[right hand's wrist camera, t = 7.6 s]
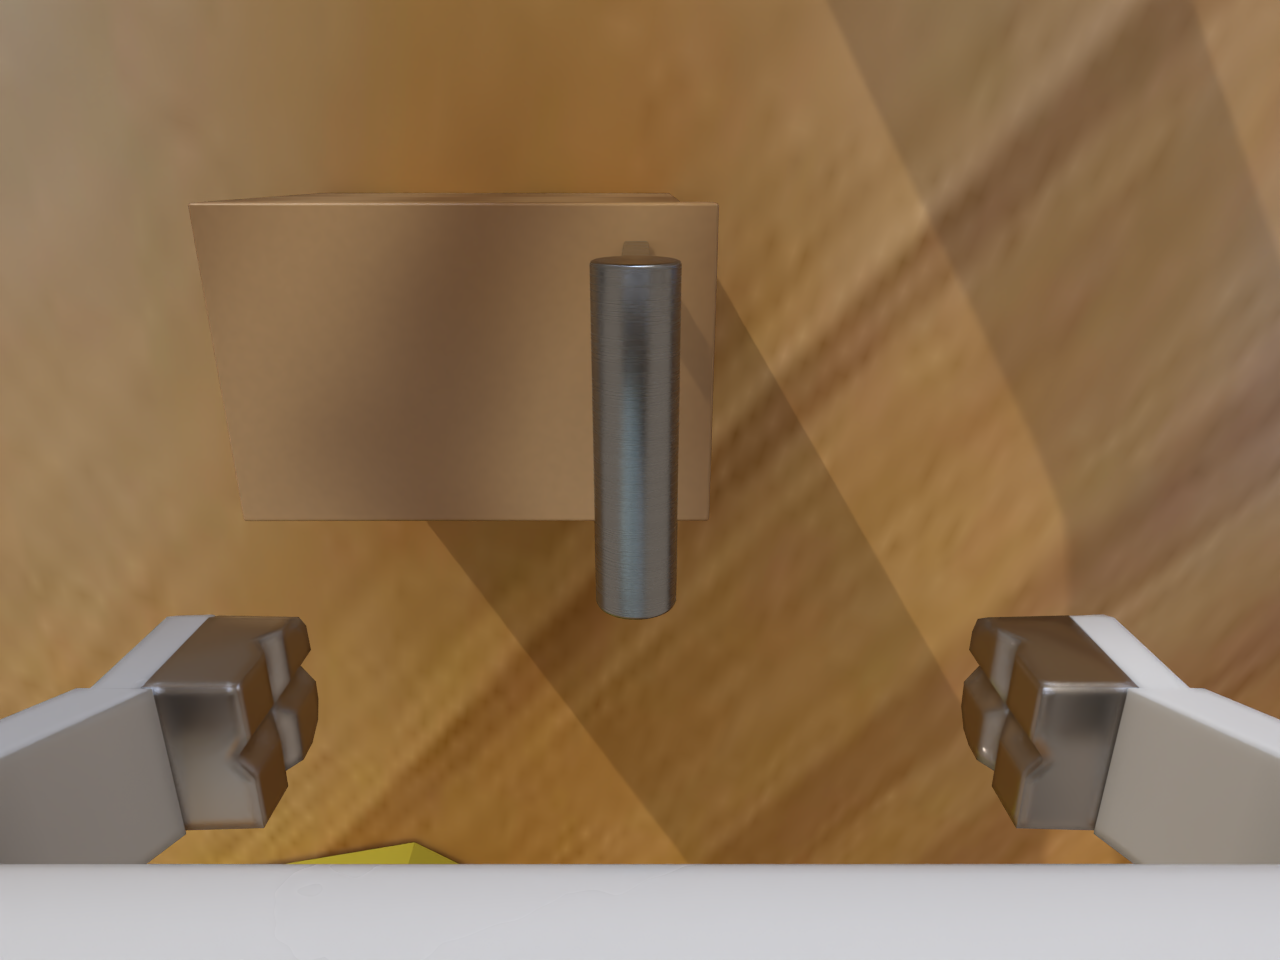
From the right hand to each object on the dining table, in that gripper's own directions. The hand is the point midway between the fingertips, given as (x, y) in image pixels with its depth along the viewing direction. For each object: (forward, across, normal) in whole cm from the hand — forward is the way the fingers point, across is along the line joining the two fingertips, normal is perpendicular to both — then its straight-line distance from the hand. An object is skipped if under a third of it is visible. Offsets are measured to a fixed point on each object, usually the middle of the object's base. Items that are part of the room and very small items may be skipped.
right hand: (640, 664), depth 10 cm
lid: (+17, +5, 0) cm, 18 cm away
